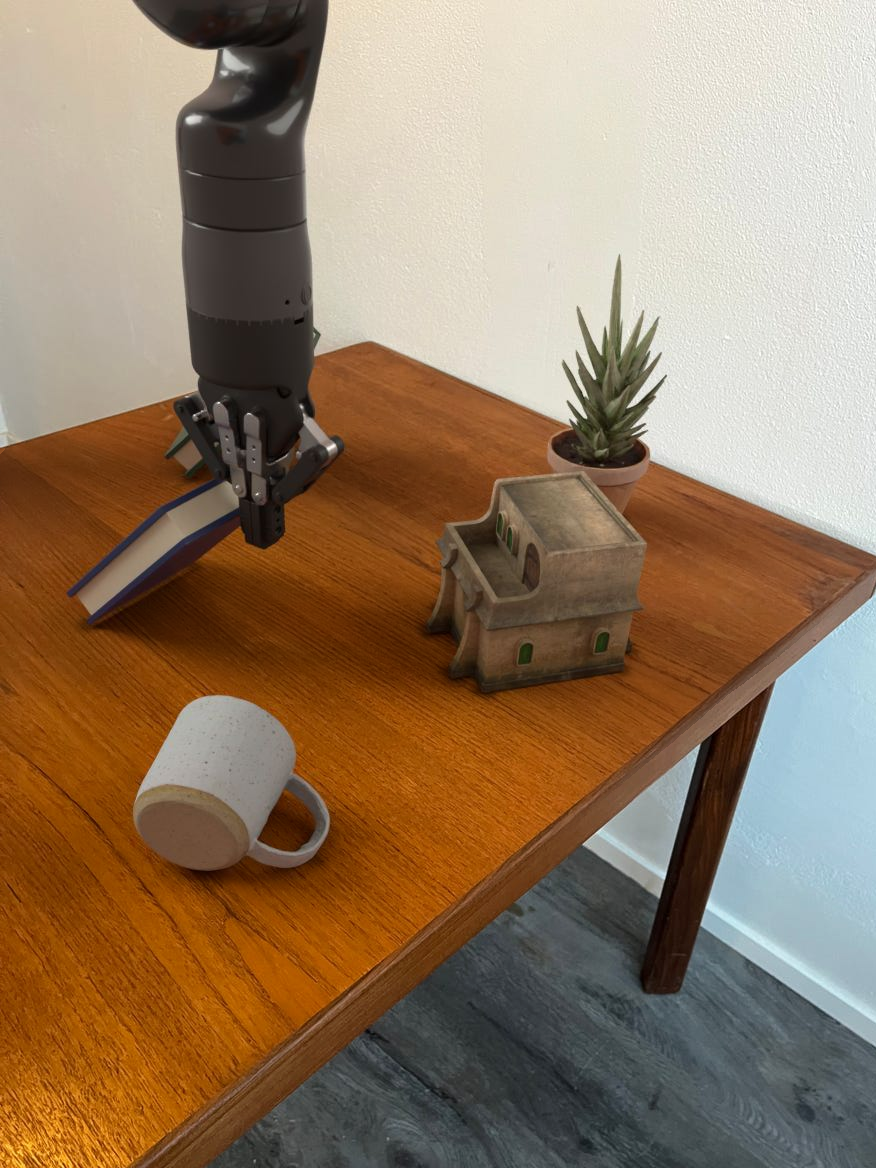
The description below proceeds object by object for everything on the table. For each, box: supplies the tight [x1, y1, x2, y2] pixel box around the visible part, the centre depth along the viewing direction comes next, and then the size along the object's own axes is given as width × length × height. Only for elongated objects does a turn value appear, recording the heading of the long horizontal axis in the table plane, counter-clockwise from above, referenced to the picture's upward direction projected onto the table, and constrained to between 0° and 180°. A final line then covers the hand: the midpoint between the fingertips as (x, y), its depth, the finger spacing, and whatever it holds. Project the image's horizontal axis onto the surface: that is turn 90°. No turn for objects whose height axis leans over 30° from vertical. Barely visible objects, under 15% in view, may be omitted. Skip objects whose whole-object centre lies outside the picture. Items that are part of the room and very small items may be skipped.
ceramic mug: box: [132, 694, 331, 872], centre depth 60 cm, size 11×8×8 cm
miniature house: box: [426, 471, 648, 694], centre depth 78 cm, size 15×14×11 cm
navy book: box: [65, 478, 271, 626], centre depth 76 cm, size 16×11×3 cm
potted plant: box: [546, 253, 668, 515], centre depth 90 cm, size 10×10×25 cm
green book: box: [163, 325, 322, 479], centre depth 98 cm, size 16×11×3 cm
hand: (263, 542), depth 71 cm, fingers closed
